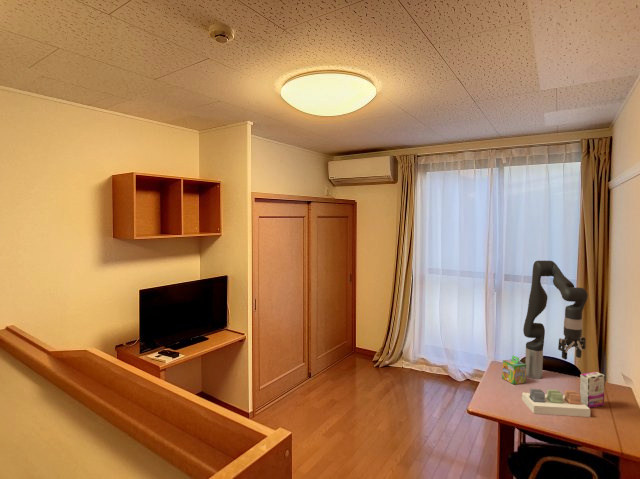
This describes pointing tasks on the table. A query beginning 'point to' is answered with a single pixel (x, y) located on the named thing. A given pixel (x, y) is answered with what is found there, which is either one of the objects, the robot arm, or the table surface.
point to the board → (556, 407)
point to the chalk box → (514, 371)
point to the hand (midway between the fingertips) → (571, 358)
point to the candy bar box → (592, 389)
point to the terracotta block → (572, 397)
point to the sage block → (555, 396)
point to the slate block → (537, 395)
